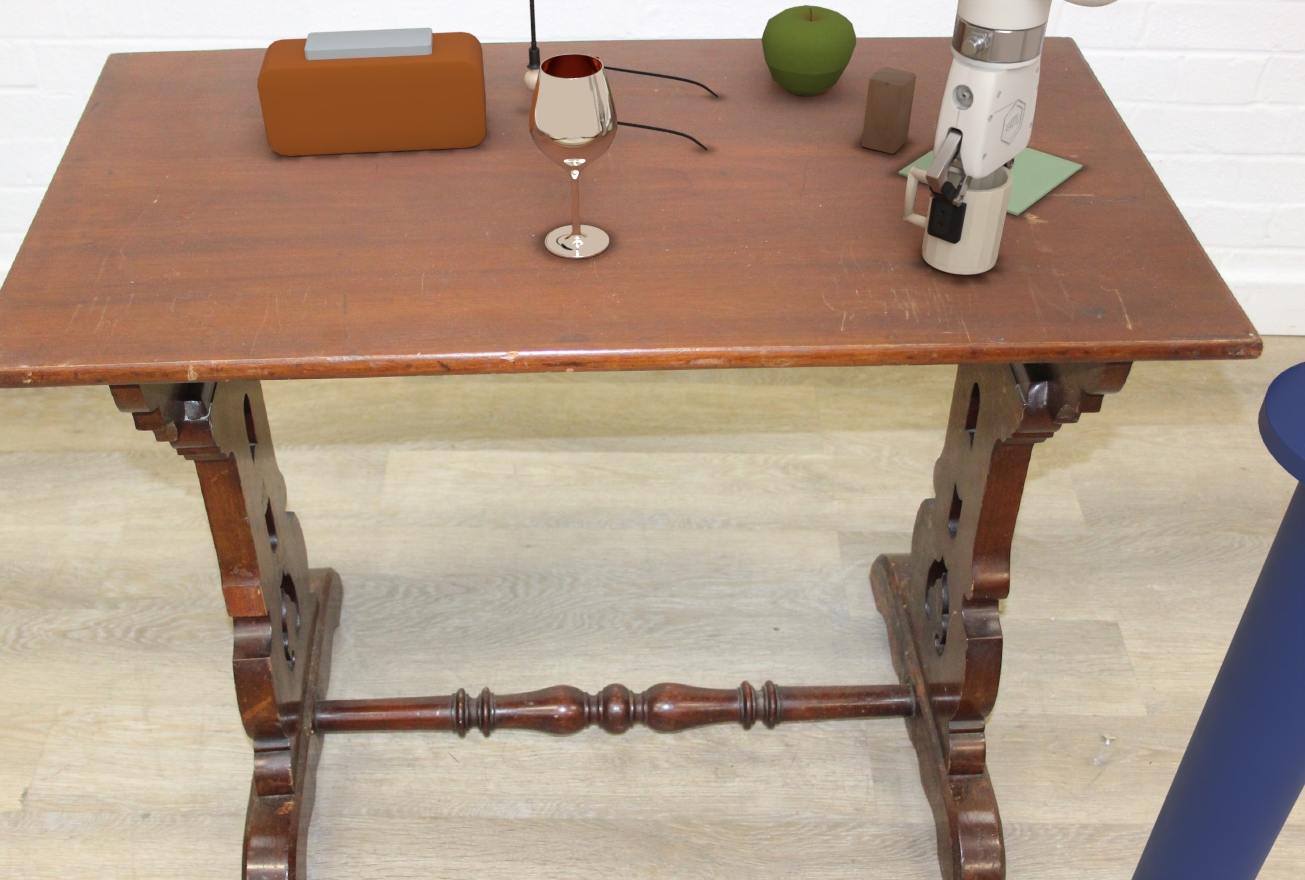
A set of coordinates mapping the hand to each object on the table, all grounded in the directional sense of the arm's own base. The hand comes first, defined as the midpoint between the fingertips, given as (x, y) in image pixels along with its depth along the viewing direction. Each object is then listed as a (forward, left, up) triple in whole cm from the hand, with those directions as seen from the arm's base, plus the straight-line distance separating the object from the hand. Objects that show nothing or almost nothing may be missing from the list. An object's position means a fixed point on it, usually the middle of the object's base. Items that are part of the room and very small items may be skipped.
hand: (965, 221), depth 125 cm
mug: (+2, 0, -4) cm, 4 cm away
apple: (+34, -23, -5) cm, 41 cm away
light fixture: (+55, +1, -5) cm, 55 cm away
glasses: (+43, -5, -5) cm, 44 cm away
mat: (+7, -19, -4) cm, 21 cm away
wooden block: (+19, -17, -5) cm, 26 cm away
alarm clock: (+63, +18, -5) cm, 66 cm away
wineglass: (+30, +21, -5) cm, 37 cm away
